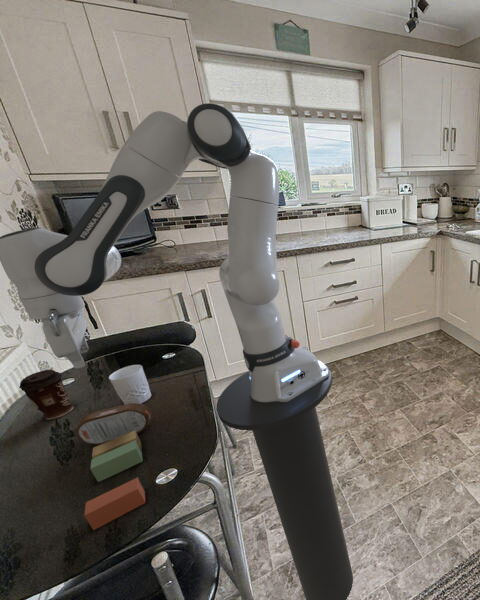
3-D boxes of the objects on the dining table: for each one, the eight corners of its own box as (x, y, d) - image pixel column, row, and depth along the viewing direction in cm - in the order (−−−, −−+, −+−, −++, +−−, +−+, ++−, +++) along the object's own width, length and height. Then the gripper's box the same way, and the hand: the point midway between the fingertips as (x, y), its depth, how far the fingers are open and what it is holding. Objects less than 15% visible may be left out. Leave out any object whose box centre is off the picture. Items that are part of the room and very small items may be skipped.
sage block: (142, 452, 78) (135, 440, 77) (142, 461, 76) (136, 448, 74) (98, 472, 74) (91, 459, 72) (98, 482, 71) (90, 468, 70)
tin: (157, 423, 88) (145, 397, 85) (153, 430, 85) (141, 404, 82) (88, 442, 83) (73, 416, 80) (82, 451, 80) (67, 424, 78)
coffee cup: (31, 426, 92) (7, 388, 87) (48, 409, 99) (27, 372, 94) (69, 416, 94) (48, 378, 90) (83, 400, 102) (64, 364, 97)
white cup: (115, 406, 97) (102, 378, 94) (142, 390, 104) (130, 363, 100) (133, 410, 95) (120, 381, 91) (159, 393, 101) (148, 365, 98)
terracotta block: (144, 491, 68) (137, 477, 66) (145, 502, 65) (138, 488, 64) (94, 517, 63) (85, 502, 62) (93, 530, 61) (84, 515, 59)
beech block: (141, 442, 82) (135, 430, 80) (141, 450, 79) (135, 437, 78) (100, 460, 77) (92, 447, 76) (99, 469, 74) (91, 456, 73)
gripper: (68, 311, 65) (97, 370, 70) (79, 291, 81) (102, 340, 85) (24, 322, 62) (57, 383, 67) (43, 298, 77) (70, 349, 82)
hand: (82, 359), depth 76 cm, fingers open, 8 cm apart
